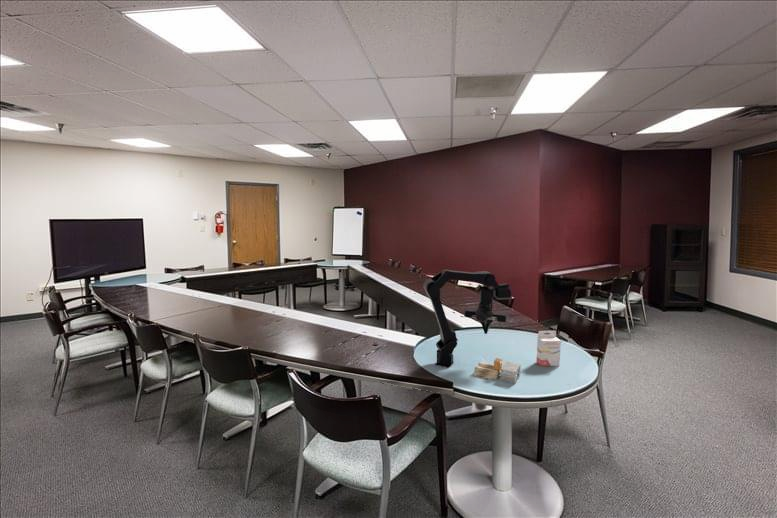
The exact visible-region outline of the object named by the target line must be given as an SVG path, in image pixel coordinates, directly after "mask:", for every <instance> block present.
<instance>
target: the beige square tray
mask: <svg viewBox="0 0 777 518" xmlns="http://www.w3.org/2000/svg"><path fill="white" fill-rule="evenodd" d="M473 375H474V377H477V376H479V377H478V378H482V377H483V379H486V378H488V379H487V380H491V379H492V380H491V381H495V380H496V381H497V380H498V379H499V378H500V376H499V374H498V370H494V364H492V363H486V362H481V361H479V362H478V366H477V365H475V366H474V372H473V373H472V376H473Z"/></svg>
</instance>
